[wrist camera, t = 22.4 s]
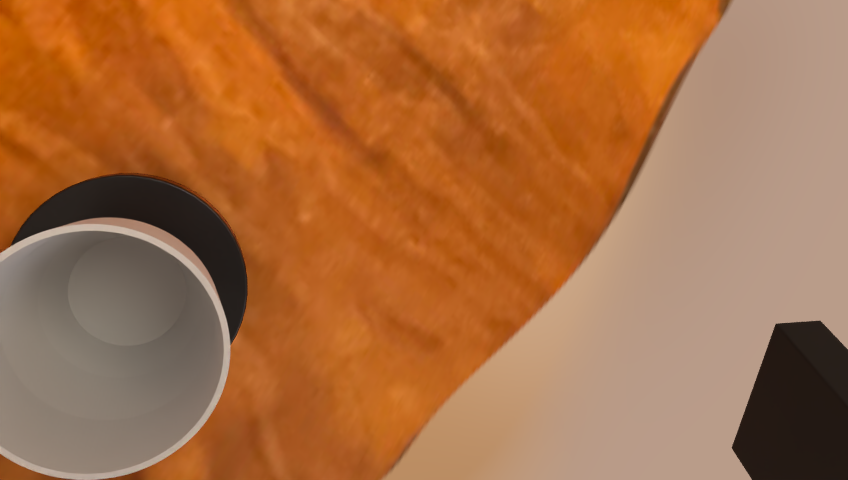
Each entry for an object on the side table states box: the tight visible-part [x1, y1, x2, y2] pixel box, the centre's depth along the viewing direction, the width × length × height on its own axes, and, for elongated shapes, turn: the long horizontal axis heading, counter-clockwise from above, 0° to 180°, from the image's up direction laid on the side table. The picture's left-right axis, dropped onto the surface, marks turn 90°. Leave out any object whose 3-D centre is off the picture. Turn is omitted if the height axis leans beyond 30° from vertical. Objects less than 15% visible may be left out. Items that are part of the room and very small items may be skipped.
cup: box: [0, 218, 230, 480], centre depth 29 cm, size 8×8×10 cm
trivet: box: [10, 173, 247, 345], centre depth 34 cm, size 10×10×2 cm
